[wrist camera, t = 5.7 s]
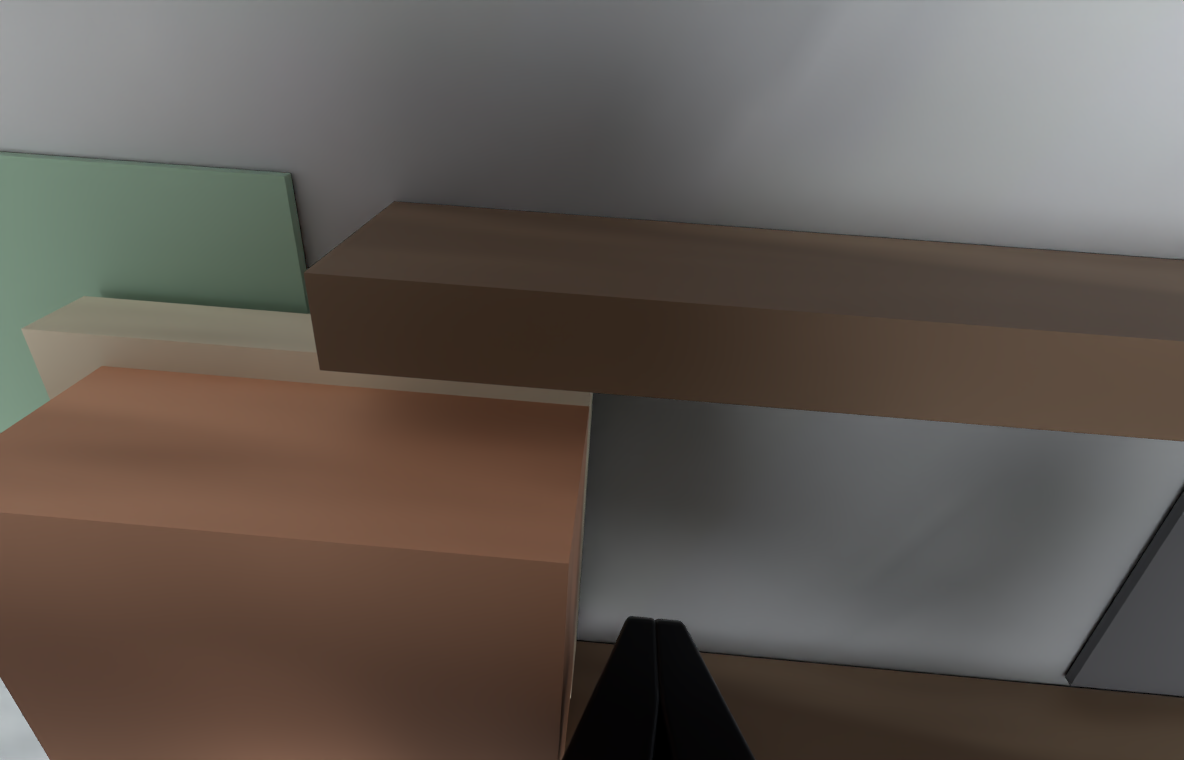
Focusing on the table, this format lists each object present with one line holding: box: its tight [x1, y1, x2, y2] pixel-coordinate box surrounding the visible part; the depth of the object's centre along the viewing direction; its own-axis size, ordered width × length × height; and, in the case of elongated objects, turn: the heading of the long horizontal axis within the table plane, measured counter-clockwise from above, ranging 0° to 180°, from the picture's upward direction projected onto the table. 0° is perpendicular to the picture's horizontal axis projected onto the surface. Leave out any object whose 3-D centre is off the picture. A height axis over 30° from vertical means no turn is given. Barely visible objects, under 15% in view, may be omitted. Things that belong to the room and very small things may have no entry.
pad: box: [0, 152, 310, 433], centre depth 12 cm, size 11×11×1 cm
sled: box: [0, 296, 593, 760], centre depth 10 cm, size 7×8×4 cm
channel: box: [304, 201, 1184, 760], centre depth 11 cm, size 10×20×3 cm, turn 87°
